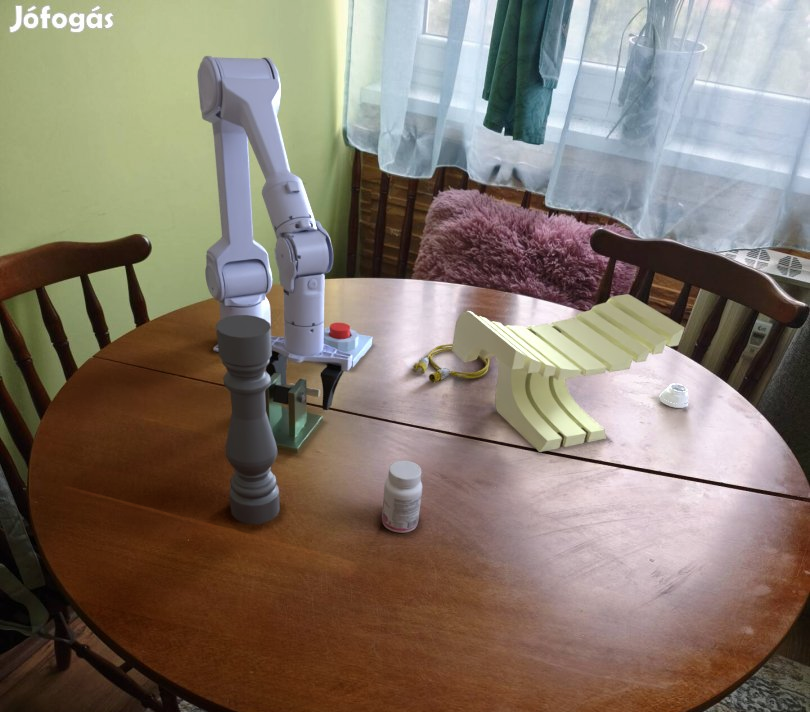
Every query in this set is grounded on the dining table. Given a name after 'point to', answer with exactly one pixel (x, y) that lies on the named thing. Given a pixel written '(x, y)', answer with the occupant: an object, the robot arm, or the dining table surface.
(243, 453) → the candle holder
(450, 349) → the extension cord
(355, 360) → the button box
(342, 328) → the button
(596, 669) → the dining table surface
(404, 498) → the pill bottle
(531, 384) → the slatted curved stool
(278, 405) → the switch bracket
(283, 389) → the switch lever
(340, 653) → the dining table surface
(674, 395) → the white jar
